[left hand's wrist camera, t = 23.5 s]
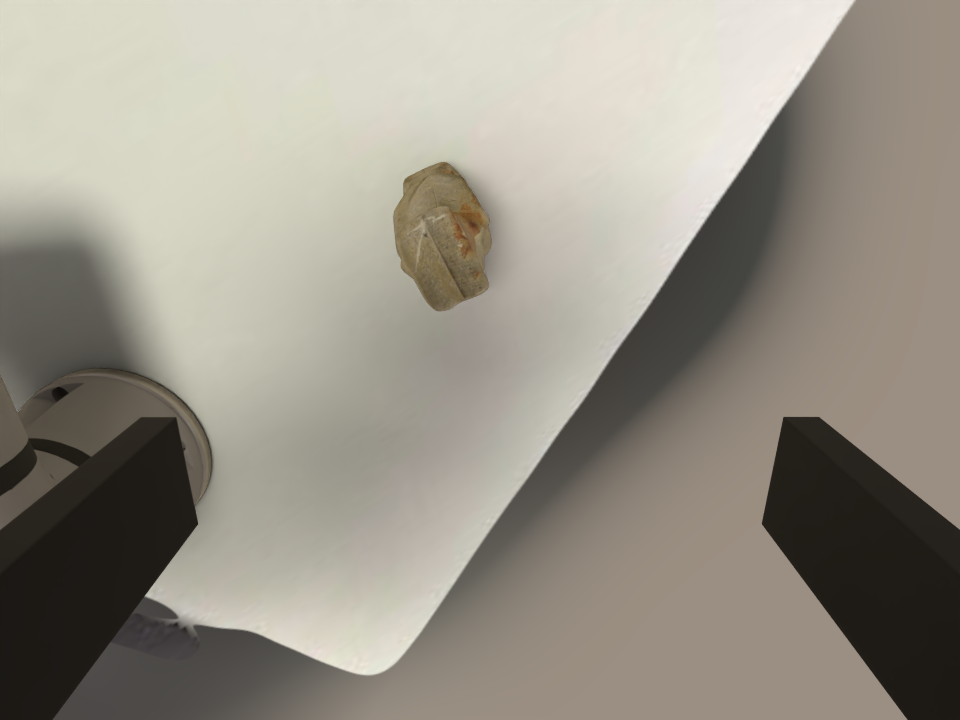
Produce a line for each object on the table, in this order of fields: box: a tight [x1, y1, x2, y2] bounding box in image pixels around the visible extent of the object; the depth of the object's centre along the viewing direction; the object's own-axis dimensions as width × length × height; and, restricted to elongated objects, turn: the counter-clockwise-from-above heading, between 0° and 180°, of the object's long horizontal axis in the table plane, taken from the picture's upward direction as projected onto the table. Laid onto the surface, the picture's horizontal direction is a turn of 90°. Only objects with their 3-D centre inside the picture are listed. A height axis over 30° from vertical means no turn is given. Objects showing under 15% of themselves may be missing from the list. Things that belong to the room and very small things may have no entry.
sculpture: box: [393, 162, 491, 311], centre depth 35 cm, size 6×7×15 cm
